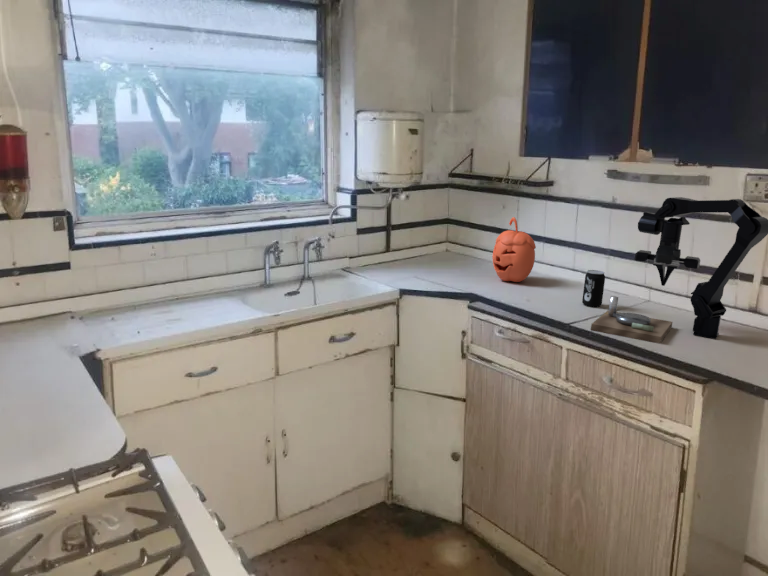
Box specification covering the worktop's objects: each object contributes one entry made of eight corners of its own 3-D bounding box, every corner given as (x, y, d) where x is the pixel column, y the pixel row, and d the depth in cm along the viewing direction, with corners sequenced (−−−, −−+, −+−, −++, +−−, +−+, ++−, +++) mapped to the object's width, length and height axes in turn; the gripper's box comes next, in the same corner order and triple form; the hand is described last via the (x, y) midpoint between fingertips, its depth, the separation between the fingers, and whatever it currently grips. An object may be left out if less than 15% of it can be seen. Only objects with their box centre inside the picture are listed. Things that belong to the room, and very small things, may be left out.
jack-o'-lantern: (480, 277, 271) (485, 215, 265) (511, 274, 281) (517, 214, 275) (512, 287, 257) (518, 222, 251) (544, 283, 266) (551, 220, 260)
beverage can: (602, 308, 233) (606, 274, 230) (582, 306, 234) (586, 272, 231) (600, 304, 239) (604, 270, 236) (581, 302, 240) (585, 269, 237)
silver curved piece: (657, 324, 208) (659, 305, 207) (635, 328, 203) (638, 308, 201) (619, 312, 220) (621, 294, 218) (598, 315, 214) (600, 297, 213)
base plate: (671, 327, 213) (673, 316, 213) (659, 343, 197) (661, 331, 196) (607, 316, 223) (608, 305, 222) (590, 330, 207) (592, 318, 206)
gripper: (634, 236, 211) (627, 285, 215) (699, 244, 202) (690, 295, 206) (641, 232, 221) (635, 279, 224) (703, 240, 211) (695, 288, 215)
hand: (663, 285), depth 217 cm, fingers closed
